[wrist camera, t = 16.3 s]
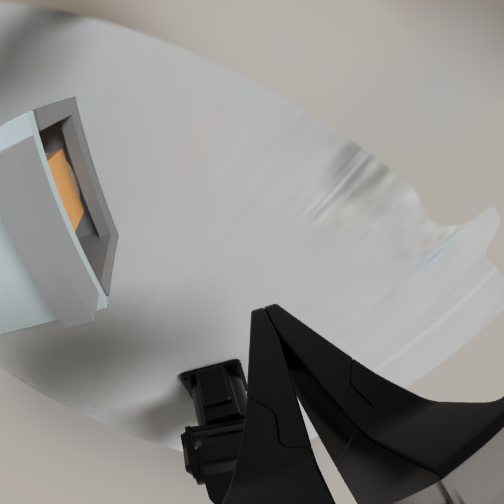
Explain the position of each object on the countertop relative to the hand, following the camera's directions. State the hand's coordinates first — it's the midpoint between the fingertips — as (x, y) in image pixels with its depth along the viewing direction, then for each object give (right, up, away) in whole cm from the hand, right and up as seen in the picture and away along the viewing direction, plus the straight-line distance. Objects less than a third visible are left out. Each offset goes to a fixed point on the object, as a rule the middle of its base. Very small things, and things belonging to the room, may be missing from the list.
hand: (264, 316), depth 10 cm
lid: (-15, +2, +1) cm, 15 cm away
